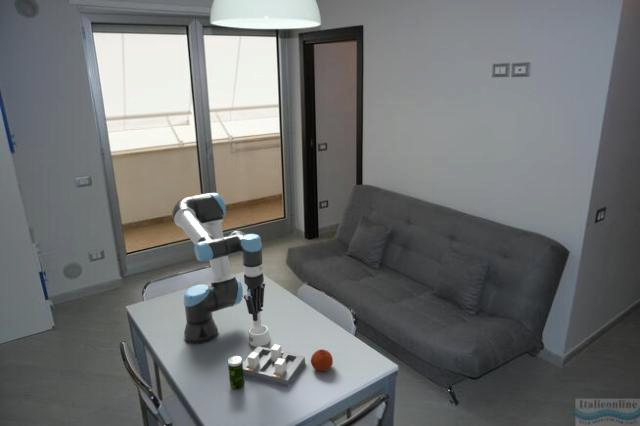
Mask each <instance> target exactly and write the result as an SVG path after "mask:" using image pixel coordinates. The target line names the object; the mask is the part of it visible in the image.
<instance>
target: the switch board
mask: <svg viewBox="0 0 640 426" xmlns="http://www.w3.org/2000/svg"><path fill="white" fill-rule="evenodd" d="M281 351H282V357H281V359H285V360H286V372H285V373H284V375H283V376H282V377H281V376H278V375H275V362H272V361H271V348H267V347H264V346H261V347H259V346H258V347H255V349H254V350H253V351H252V352H255V353H259V362H260V365H259V366H258V367H257V368H256V369H255V370H254V369H250V368H249V366H248V357H247V358H246V359H245V360H244V361H242V363H243V374H244V377H248V378H251V379H255V380H260V381H262V382H263V381H264V382H267V383H270V384H271V383H272V384H276V385H279V386H283V387H289V386H291V383H292V382H293V381H294V379H295V378H296V376H297V375H298V373H299V372H300V371H301V369H302V368H303V366H304V365H305V364H306V357H305V356H304V355H299V354H295V353H290V352H285V351H283V350H281Z"/></svg>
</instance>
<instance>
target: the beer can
mask: <svg viewBox="0 0 640 426" xmlns="http://www.w3.org/2000/svg"><path fill="white" fill-rule="evenodd" d="M227 366H228V367H227V368H228V376H229V377H228V378H229V386H230V388H231V390H232V391H235V392H236V391H241V390H243V389H244V387H245V379H244V378H245V376H244V374H243V359H242V357H241V356H238V355H234V356H231V357H229V358H228V362H227Z"/></svg>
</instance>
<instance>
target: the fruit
mask: <svg viewBox="0 0 640 426" xmlns="http://www.w3.org/2000/svg"><path fill="white" fill-rule="evenodd" d="M310 364H311V366H312V368H313V369H314V370H316V371H319V372H325V371H329V370H330V369H331V368H332V367H333V364H334V361H333V356H332V354H331V352H329V351H328V350H326V349H323V348H322V349H318V350H316V351H315V352H314V353H313V354H312V356H311V359H310Z"/></svg>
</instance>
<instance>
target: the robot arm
mask: <svg viewBox="0 0 640 426" xmlns="http://www.w3.org/2000/svg"><path fill="white" fill-rule="evenodd" d="M171 212H172V213H171V217H172V221H173V222H174V224H175V225H176V226H177V227H179V228H181V229H182V230H183V232H184V233H185V234H186V235H187V237H188V238H189V239H190V241H191V242H192V243H193V245H194V248H193V251H194V255H195V257H196V261H199V262H202V263H203V262H207V261H209V263H210V268H211V269H210V270H211V274H212V279H211V280H210V286H209V285H208V284H206V283H205V284H204V283H201V284H200V283H199V284H195V285H192V286H190V287H189V288H187V290H185V292H184V293H183V306H184V312H185V320H186V323H185V328H184V332H183V333H184V335H183V336H184V340H185V341H186V342H187V343H189V344H193V345H194V344H198V345H199V344H205V343H208V342H210V341H213V340H214V339H215V338H216V337H217V336H218V335H219V329H218V326H217V324H216V322H215V320H214V317H213V313H214V312H217V311H221V310H223V309H228V308H230V307H234V306H237V305H239V304H241V302H242V300H243V299H244V300H245V303H246V308H247V312H248V314H249V315H252V325H253V326H254V327H258V328H260V327H261V325H262V320H261V312H263V310H264V309H263V308H264V299H265V288H266V283H264V280H265V279H264V266H263V249H262V248H263V244H262V239H261V236H260V235H259V234H255V233H245V232H243V231H241V230H234V231H232V232H231V233H230V234H229V235H227V236H224V231H223V227H222V223H223V221H224V217H225V215H226V214H227V209H226V203H225V201H224V199H223V198H222V196H221V195H220V194H219V193H217V192H207V193H201V194H197V195H192V196H191V195H190V196H185V197H182V198H181V199H179V200H178V201H177V202H176V203H175V205H174V206H173V208H172V211H171ZM235 254H236V255H237V254H239V255H241V257H242V268H243V278H244V279H243V282H244V284H245V286H246V287H247V288H246V292H247V293H246V295H245V294H244V291H243V288H244V287H243V284H242V282H241V280H240V279H238V278H237V277H236V275H235V274H233V273H232V271H231V270H232V269H231V265H230V260H229V256H231V255H235ZM253 326H252V327H253Z"/></svg>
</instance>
